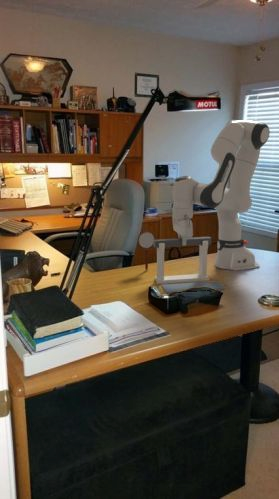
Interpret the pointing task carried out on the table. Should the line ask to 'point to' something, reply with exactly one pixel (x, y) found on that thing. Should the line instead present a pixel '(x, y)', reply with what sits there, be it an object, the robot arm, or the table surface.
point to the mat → (183, 286)
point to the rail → (178, 242)
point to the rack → (182, 278)
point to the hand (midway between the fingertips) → (182, 244)
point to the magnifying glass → (146, 244)
